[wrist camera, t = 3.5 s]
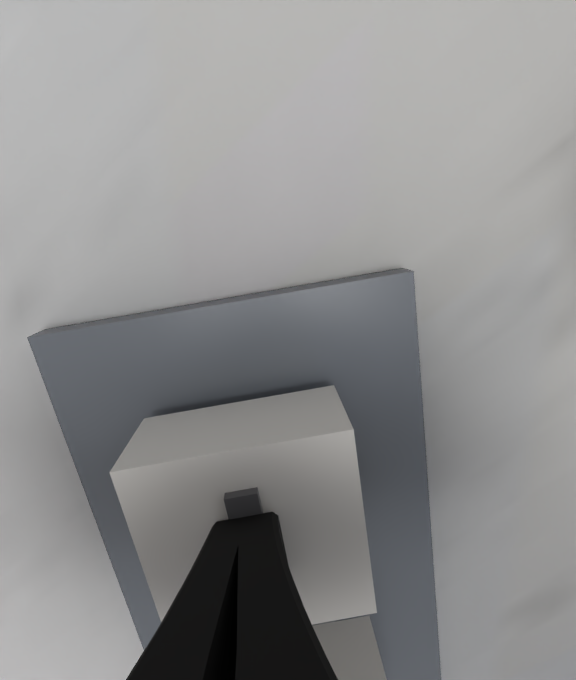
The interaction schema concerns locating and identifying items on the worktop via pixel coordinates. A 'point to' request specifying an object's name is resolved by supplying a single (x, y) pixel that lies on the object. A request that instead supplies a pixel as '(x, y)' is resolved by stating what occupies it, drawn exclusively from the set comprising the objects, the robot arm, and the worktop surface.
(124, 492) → the key three
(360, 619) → the key two
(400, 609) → the keypad base
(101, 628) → the worktop surface
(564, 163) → the worktop surface
